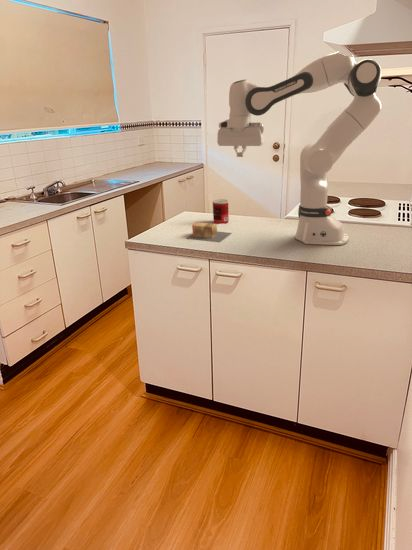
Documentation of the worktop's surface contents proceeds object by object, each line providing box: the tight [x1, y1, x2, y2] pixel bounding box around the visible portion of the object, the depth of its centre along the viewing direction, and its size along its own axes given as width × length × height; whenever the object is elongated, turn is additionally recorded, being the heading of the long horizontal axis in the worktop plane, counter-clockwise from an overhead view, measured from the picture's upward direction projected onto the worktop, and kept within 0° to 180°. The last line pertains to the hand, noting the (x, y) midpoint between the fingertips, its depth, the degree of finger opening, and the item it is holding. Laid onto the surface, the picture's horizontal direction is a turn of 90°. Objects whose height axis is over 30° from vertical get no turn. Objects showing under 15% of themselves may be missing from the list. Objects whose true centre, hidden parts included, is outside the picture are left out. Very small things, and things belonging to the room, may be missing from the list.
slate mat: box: [185, 230, 233, 243], centre depth 187 cm, size 17×14×1 cm
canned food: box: [212, 198, 230, 225], centre depth 205 cm, size 8×8×11 cm
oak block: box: [191, 221, 218, 238], centre depth 187 cm, size 5×5×10 cm
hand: (240, 156), depth 177 cm, fingers closed
